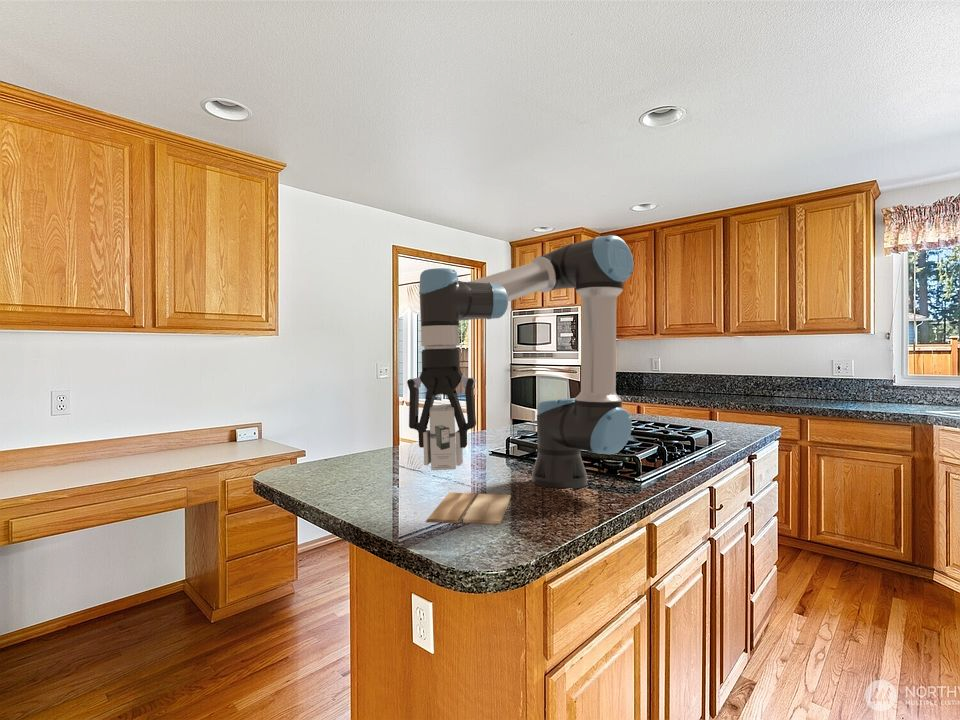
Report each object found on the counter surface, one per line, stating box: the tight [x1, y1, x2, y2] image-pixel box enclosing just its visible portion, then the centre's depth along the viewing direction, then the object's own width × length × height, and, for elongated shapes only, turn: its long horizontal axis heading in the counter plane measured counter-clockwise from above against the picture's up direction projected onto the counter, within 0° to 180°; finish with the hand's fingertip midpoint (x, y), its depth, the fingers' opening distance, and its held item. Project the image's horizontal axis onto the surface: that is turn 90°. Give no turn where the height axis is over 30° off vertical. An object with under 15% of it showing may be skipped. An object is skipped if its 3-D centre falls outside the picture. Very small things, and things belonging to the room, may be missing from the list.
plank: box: [462, 493, 512, 525], centre depth 114 cm, size 8×19×1 cm, turn 170°
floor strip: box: [426, 492, 478, 524], centre depth 116 cm, size 7×20×1 cm, turn 170°
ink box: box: [429, 403, 457, 471], centre depth 100 cm, size 9×5×12 cm, turn 5°
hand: (443, 463), depth 100 cm, fingers closed on ink box, 6 cm apart
